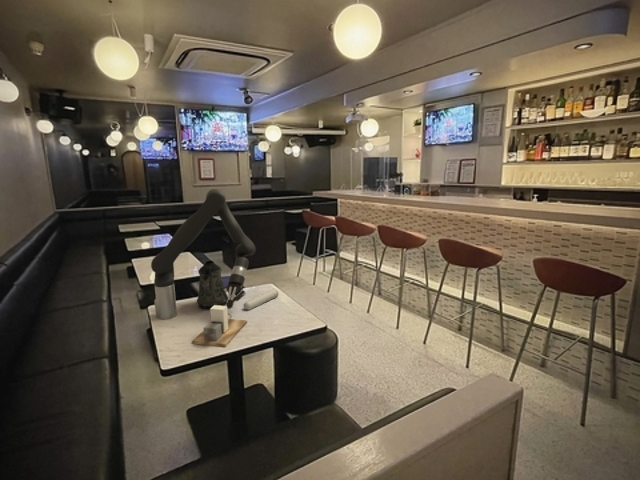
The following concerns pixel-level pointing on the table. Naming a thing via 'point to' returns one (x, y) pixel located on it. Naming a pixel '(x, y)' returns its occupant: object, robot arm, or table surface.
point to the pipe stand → (219, 333)
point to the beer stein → (210, 286)
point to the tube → (260, 299)
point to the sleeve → (220, 315)
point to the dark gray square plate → (219, 323)
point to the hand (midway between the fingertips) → (228, 308)
